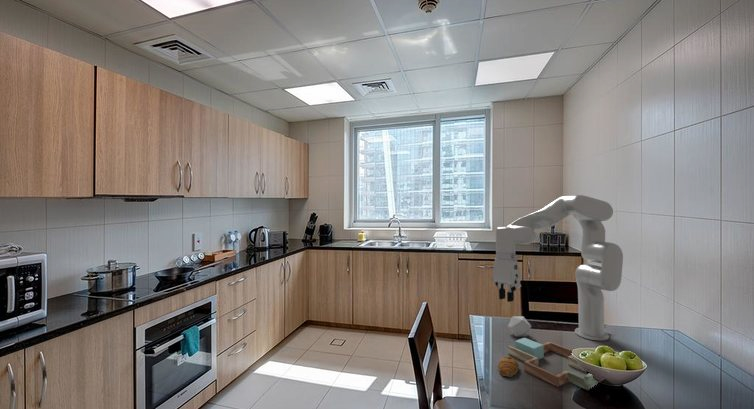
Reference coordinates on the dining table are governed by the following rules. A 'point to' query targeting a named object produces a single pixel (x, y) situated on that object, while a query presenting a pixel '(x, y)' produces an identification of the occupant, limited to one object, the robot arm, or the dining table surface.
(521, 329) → the die
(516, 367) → the pastry
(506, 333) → the dining table surface
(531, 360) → the wooden zigzag track
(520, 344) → the teal block
